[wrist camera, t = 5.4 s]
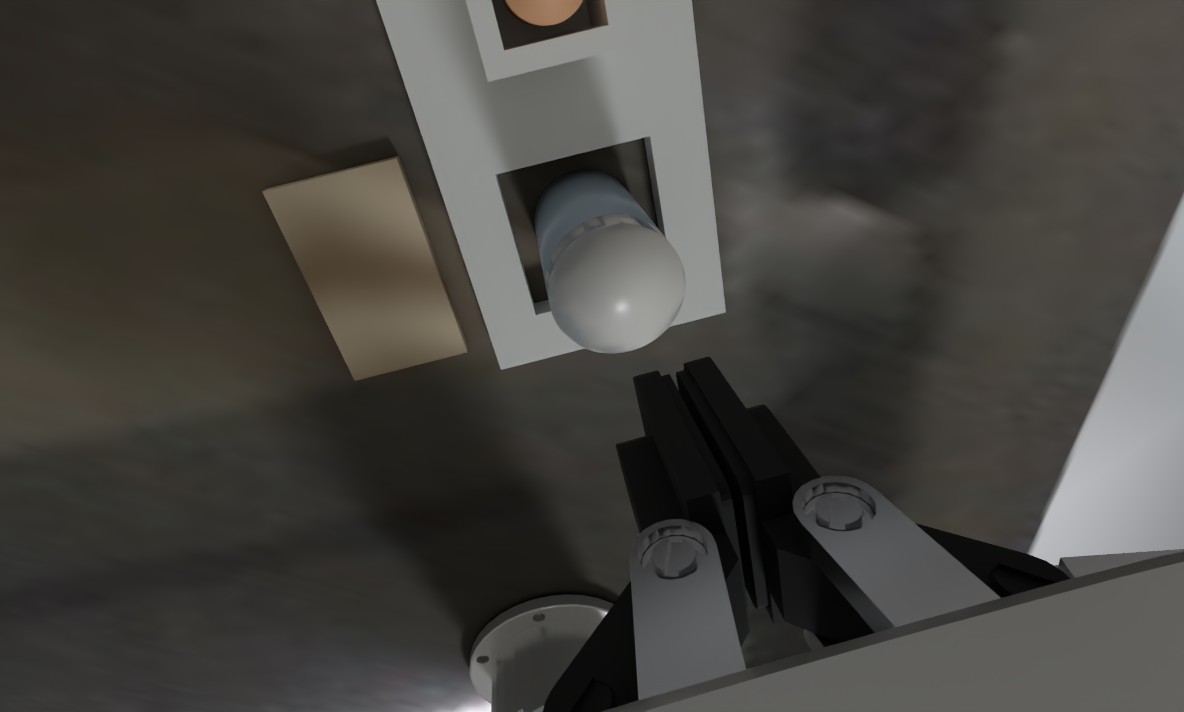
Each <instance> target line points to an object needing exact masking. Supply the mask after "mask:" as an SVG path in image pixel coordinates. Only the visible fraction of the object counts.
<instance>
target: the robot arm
mask: <svg viewBox="0 0 1184 712" xmlns="http://www.w3.org/2000/svg"><path fill="white" fill-rule="evenodd" d="M676 377H677V383H678V389H679V391H678V389H677V387H676V385H675V383H674V382H673V380H672V378H671V376H670V375H669V374H668V375H664V376H661V375H660V373H659V371H653V372H650V373H646V374H642V375H639V376H635V377H633V380H634V386H635V390H636V395H637V399H638V404H639V408H640V413H641V417H642V422H643V426H644V431H645V435H646V436H645V437H641V438H637V439H633V440H630V441H626V442H622V443H619V444H616V449H617V453H618V457H619V461H620V464H621V468H622V472H623V476H624V480H625V484H626V487H627V491H628V495H629V498H630V502H631V505H632V509H633V512H634V516H635V519H636V522H637V526H638V529H639V533H640V534H639V535H638V536H637V537H636V539H635V541H634V542H633V544H632V546H631V550H630V574H631V581H630V583H629V584H628V585H627V587H626V588H625V589H624V591H623V592H622V594H621V595H620V596H619V598H618V599H617V600H616V602H615V603H614V604H613V603H610V602H608V601H605V600H602V599H599V598H595V597H590V596H584V595H568V594H564V595H554V596H546V597H542V598H537V599H533V600H530V601H527V602H524V603H522V604H519V605H516V606H514V607H512V608H511V609H509V610H507V611H505V612H503V613H501V614H500V615H499V616H497V617H496V618H495V619H493V620H492V621H491V622H489V623H488V624H487V625H486V627H485V628H484V629H483V630H482V631H481V632H480V633H479V635H478V637H477V638H476V640H475V642H474V644H473V646H472V650H471V654H470V670H469V671H470V677H471V682H472V684H473V685H474V687H475V689H476V691H477V692H478V693H479V694H480V695H481V696H482V697H483V698H484V699H485V700H486V701H488V702H489V703H491V712H1184V549H1179V550H1165V551H1150V552H1136V553H1122V554H1107V555H1094V556H1081V557H1080V556H1079V557H1066V558H1065V557H1064V558H1060V562H1059V565H1056V566H1053V565H1052V564H1050V563H1048V562H1047V561H1044V560H1042V559H1039V558H1036V557H1034V556H1031V555H1028V554H1025V553H1021V552H1018V551H1014V550H1010V549H1007V548H1003V547H999V546H996V545H992V544H989V543H985V542H981V541H978V540H974V539H970V538H967V537H963V536H959V535H956V534H952V533H948V532H945V531H941V530H938V529H934V528H930V527H927V526H923V525H919V524H916V523H914V522H913V521H911V520H910V519H909V518H908V517H907V516H906V515H904V514H903V513H902V512H901V511H900V510H899V509H898V508H896V507H895V506H894V505H893V504H892V503H891V502H889V501H888V500H887V499H886V498H885V497H884V496H883V495H881V494H880V493H879V492H878V491H877V490H875V489H874V488H872V487H871V486H869V485H868V484H866V483H864V482H862V481H859V480H856V479H853V478H849V477H842V476H825V477H820V476H819V474H818V473H817V472H816V470H815V469H814V468H813V467H812V465H811V464H810V463H809V461H808V460H807V459H806V457H805V456H804V455H803V453H802V452H801V451H800V449H799V448H798V447H797V445H796V444H795V443H794V442H793V440H792V439H791V438H790V436H789V435H788V434H787V432H786V431H785V430H784V428H783V427H782V426H781V424H780V423H779V422H778V420H777V419H776V418H775V417H774V415H773V414H772V413H771V411H770V410H769V409H768V408H767V407H766V406H765V405H759V406H755V407H751V408H748V409H746V408H745V406H744V405H743V403H742V402H741V401H740V399H739V398H738V396H737V395H736V393H735V392H734V391H733V389H732V388H731V386H730V385H729V383H728V382H727V380H726V379H725V378H724V376H723V375H722V373H721V372H720V370H719V369H718V368H717V366H716V365H715V363H714V362H713V360H712V359H711V358H710V357H705V358H702V359H698V360H694V361H691V362H687V363H684V370H683V371H679V372H677V373H676ZM745 587H746V589H747V592H748V594H749V596H750V598H751V600H752V602H753V604H754V606H755V608H756V609H759V608H763V607H766V609H767V611H768V613H769V615H770V617H771V619H772V621H773V623H774V624H777V623H781V622H784V621H786V622H788V623H790V624H793V625H795V626H798V627H800V628H803V632H804V636H805V638H806V640H807V642H808V644H809V646H810V647H811V649H812V650H813V651H810V652H806V653H803V654H799V655H796V656H792V657H789V658H785V659H781V660H778V661H774V662H771V663H767V664H764V665H760V666H757V667H753V668H750V669H746V668H745V664H744V660H743V655H742V651H741V646H742V644H743V642H744V640H745V638H746V637H747V635H748V633H749V624H748V617H747V612H748V603H747V596H746V590H745Z"/></svg>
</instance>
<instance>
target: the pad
mask: <svg viewBox="0 0 1184 712" xmlns="http://www.w3.org/2000/svg"><path fill="white" fill-rule="evenodd" d="M262 192H263V194H264V196H265V198H266V201H267V203H268V205H269V207H270V209H271V211H272V213H273V215H274V217H275V219H276V221H277V223H278V225H279V227H280V229H281V231H282V233H283V235H284V237H285V239H286V241H287V243H288V246H289V248H290V250H291V252H292V254H293V256H294V258H295V260H296V262H297V264H298V266H299V268H300V270H301V272H302V274H303V276H304V278H305V280H306V282H307V284H308V286H309V288H310V291H311V293H312V295H313V297H314V299H315V301H316V303H317V305H318V307H319V309H320V311H321V313H322V315H323V317H324V319H325V321H326V323H327V325H328V327H329V329H330V331H331V333H332V336H333V338H334V340H335V342H336V344H337V346H338V348H339V350H340V352H341V354H342V356H343V358H344V360H345V362H346V364H347V366H348V368H349V370H350V372H351V374H352V376H353V378H354V381H357V380H361V379H365V378H369V377H373V376H377V375H380V374H384V373H388V372H392V371H396V370H400V369H404V368H408V367H412V366H416V365H420V364H424V363H428V362H431V361H435V360H439V359H443V358H447V357H451V356H455V355H459V354H463V353H467V352H468V346H467V343H466V340H465V337H464V335H463V332H462V329H461V326H460V324H459V321H458V318H457V315H456V313H455V310H454V307H453V304H452V302H451V299H450V296H449V293H448V291H447V288H446V285H445V282H444V280H443V277H442V274H441V271H440V269H439V266H438V263H437V260H436V258H435V255H434V252H433V249H432V247H431V244H430V241H429V238H428V235H427V233H426V230H425V227H424V224H423V222H422V219H421V216H420V213H419V211H418V208H417V205H416V202H415V200H414V197H413V194H412V191H411V189H410V186H409V183H408V180H407V178H406V175H405V172H404V169H403V167H402V164H401V161H400V158H399V156H396V157H392V158H388V159H384V160H380V161H376V162H372V163H367V164H363V165H359V166H355V167H351V168H347V169H343V170H339V171H335V172H331V173H327V174H323V175H319V176H315V177H311V178H307V179H303V180H299V181H295V182H291V183H287V184H283V185H279V186H275V187H271V188H267V189H265V190H264V191H262Z"/></svg>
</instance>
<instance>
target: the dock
mask: <svg viewBox="0 0 1184 712" xmlns="http://www.w3.org/2000/svg"><path fill="white" fill-rule="evenodd" d="M376 1H377V4H378V7H379V10H380V13H381V16H382V19H383V22H384V25H385V28H386V31H387V34H388V37H389V40H390V43H391V46H392V49H393V52H394V55H395V58H396V61H397V64H398V67H399V69H400V72H401V75H402V78H403V81H404V84H405V87H406V90H407V93H408V96H409V99H410V102H411V105H412V108H413V111H414V114H415V117H416V120H417V123H418V126H419V129H420V132H421V135H422V137H423V140H424V143H425V146H426V149H427V152H428V155H429V158H430V161H431V164H432V167H433V170H434V173H435V176H436V179H437V182H438V185H439V188H440V191H441V194H442V197H443V200H444V203H445V205H446V208H447V211H448V214H449V217H450V220H451V223H452V226H453V229H454V232H455V235H456V238H457V241H458V244H459V247H460V250H461V253H462V256H463V259H464V262H465V265H466V268H467V271H468V274H469V276H470V279H471V282H472V285H473V288H474V291H475V294H476V297H477V300H478V303H479V306H480V309H481V312H482V315H483V318H484V321H485V324H486V327H487V330H488V333H489V336H490V339H491V342H492V344H493V347H494V350H495V353H496V356H497V359H498V362H499V365H500V368H501V370H502V369H506V368H510V367H514V366H518V365H522V364H526V363H529V362H533V361H537V360H541V359H545V358H549V357H553V356H557V355H561V354H565V353H569V352H572V351H576V350H580V349H584V347H581V346H580V345H578V344H576V343H575V342H573V341H572V340H571V339H569V338H568V337H567V336H566V335H565V334H564V333H563V332H562V331H561V329H560V328H559V327H558V325H557V324H556V322H555V320H554V318H553V316H552V313H551V310H550V305H549V300H545V301H541V302H537V303H534V301H533V297H532V294H531V290H530V287H529V283H528V280H527V276H526V273H525V269H524V266H523V262H522V259H521V255H520V252H519V248H518V245H517V241H516V238H515V234H514V231H513V227H512V224H511V220H510V217H509V213H508V210H507V206H506V203H505V199H504V196H503V192H502V189H501V185H500V182H499V178H498V175H497V174H500V173H504V172H508V171H512V170H516V169H520V168H524V167H528V166H532V165H536V164H540V163H544V162H548V161H552V160H556V159H560V158H564V157H568V156H572V155H576V154H580V153H584V152H588V151H592V150H596V149H600V148H604V147H608V146H612V145H616V144H620V143H624V142H628V141H632V140H636V139H640V138H644V141H645V148H646V154H647V160H648V166H649V173H650V179H651V185H652V192H653V198H654V204H655V210H656V217H657V223H658V229H659V230H660V231H661V233H662V234H663V235H664V236H665V238H666V239H667V240H668V241H669V243H670V244H671V245H672V246H673V248H674V249H675V250H676V252H677V254H678V255H679V257H680V259H681V262H682V264H683V267H684V272H685V281H686V286H685V295H684V300H683V303H682V306H681V308H680V310H679V312H678V315H677V316H676V318H675V319H674V321H673V322H672V324H671V325H670V326H674V325H678V324H682V323H686V322H690V321H694V320H698V319H701V318H705V317H709V316H713V315H717V314H721V313H725V312H726V311H725V301H724V292H723V283H722V274H721V265H720V256H719V246H718V237H717V228H716V219H715V210H714V201H713V192H712V182H711V173H710V164H709V155H708V146H707V137H706V127H705V118H704V109H703V100H702V91H701V82H700V72H699V63H698V54H697V45H696V36H695V27H694V17H693V8H692V0H583V1H582V3H581V5H580V6H579V8H578V9H577V10H576V12H575V13H574V14H573V15H572V16H570V17H569V18H568V19H566V20H565V21H563V22H561V23H558V24H554V25H547V26H532V25H528V24H525V23H523V22H521V21H519V20H518V19H517V18H515V17H514V16H513V15H512V14H511V13H510V12H509V10H508V9H507V8H506V6H505V4H504V2H503V0H376ZM670 326H669V327H670Z"/></svg>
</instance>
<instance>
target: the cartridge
mask: <svg viewBox="0 0 1184 712" xmlns="http://www.w3.org/2000/svg"><path fill="white" fill-rule="evenodd" d="M534 227H535V233H536V238H537V243H538V248H539V253H540V259H541V264H542V269H543V274H544V279H545V285H546V290H547V295H548V300H549V305H550V310H551V313H552V316H553V318H554V320H555V322H556V324H557V325H558V327H559V328H560V329H561V331H562V332H563V333H564V334H565V335H566V336H567V337H568V338H569V339H571V340H572V341H573V342H575V343H576V344H578V345H580V346H581V347H584V348H586V349H588V350H592V351H595V352H601V353H623V352H628V351H632V350H635V349H638V348H640V347H643V346H645V345H647V344H649V343H650V342H652V341H654V340H655V339H656V338H658V337H659V336H660V335H661V334H662V333H664V332H665V331H666V330H667V329H668V327H669V326H670V325H671V324H672V322H673V321H674V319H675V318H676V316H677V315H678V312H679V310H680V308H681V306H682V303H683V300H684V295H685V286H686V281H685V272H684V267H683V264H682V262H681V259H680V257H679V255H678V254H677V252H676V250H675V249H674V248H673V246H672V245H671V244H670V243H669V241H668V240H667V239H666V238H665V236H664V235H663V234H662V233H661V231H660V230H659V229H658V228H657V227H656V225H655V224H654V223H653V222H652V220H651V219H650V218H649V217H648V215H647V214H646V213H645V212H644V211H643V209H642V208H641V207H640V206H639V204H638V203H637V202H636V201H635V199H634V198H633V197H632V196H631V195H630V193H629V192H628V191H627V190H626V188H625V187H624V186H623V185H622V184H621V183H620V182H619V181H618V180H617V179H615V178H614V177H612V176H610V175H609V174H606V173H604V172H601V171H597V170H589V169H584V170H576V171H572V172H569V173H566V174H564V175H562V176H560V177H559V178H557V179H556V180H554V181H553V182H552V183H551V184H550V185H549V186H548V187H547V188H546V189H545V191H544V192H543V194H542V195H541V197H540V199H539V201H538V204H537V206H536V210H535V216H534Z"/></svg>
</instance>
